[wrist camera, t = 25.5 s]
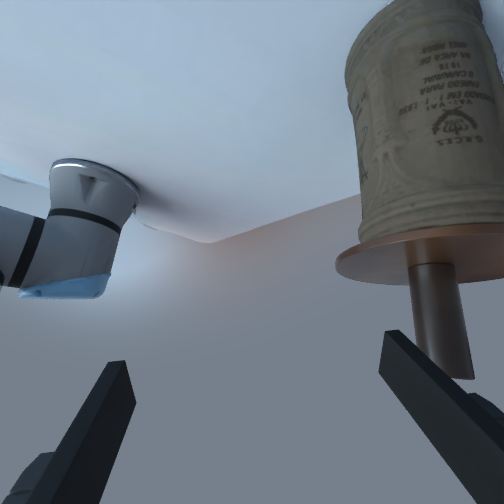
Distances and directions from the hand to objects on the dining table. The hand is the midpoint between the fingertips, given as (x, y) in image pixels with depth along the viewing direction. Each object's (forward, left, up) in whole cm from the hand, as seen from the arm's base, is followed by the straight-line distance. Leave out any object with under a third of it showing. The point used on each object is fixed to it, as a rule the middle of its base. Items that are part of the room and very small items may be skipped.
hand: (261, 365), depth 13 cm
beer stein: (+11, -8, -28) cm, 31 cm away
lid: (+11, -8, -8) cm, 16 cm away
